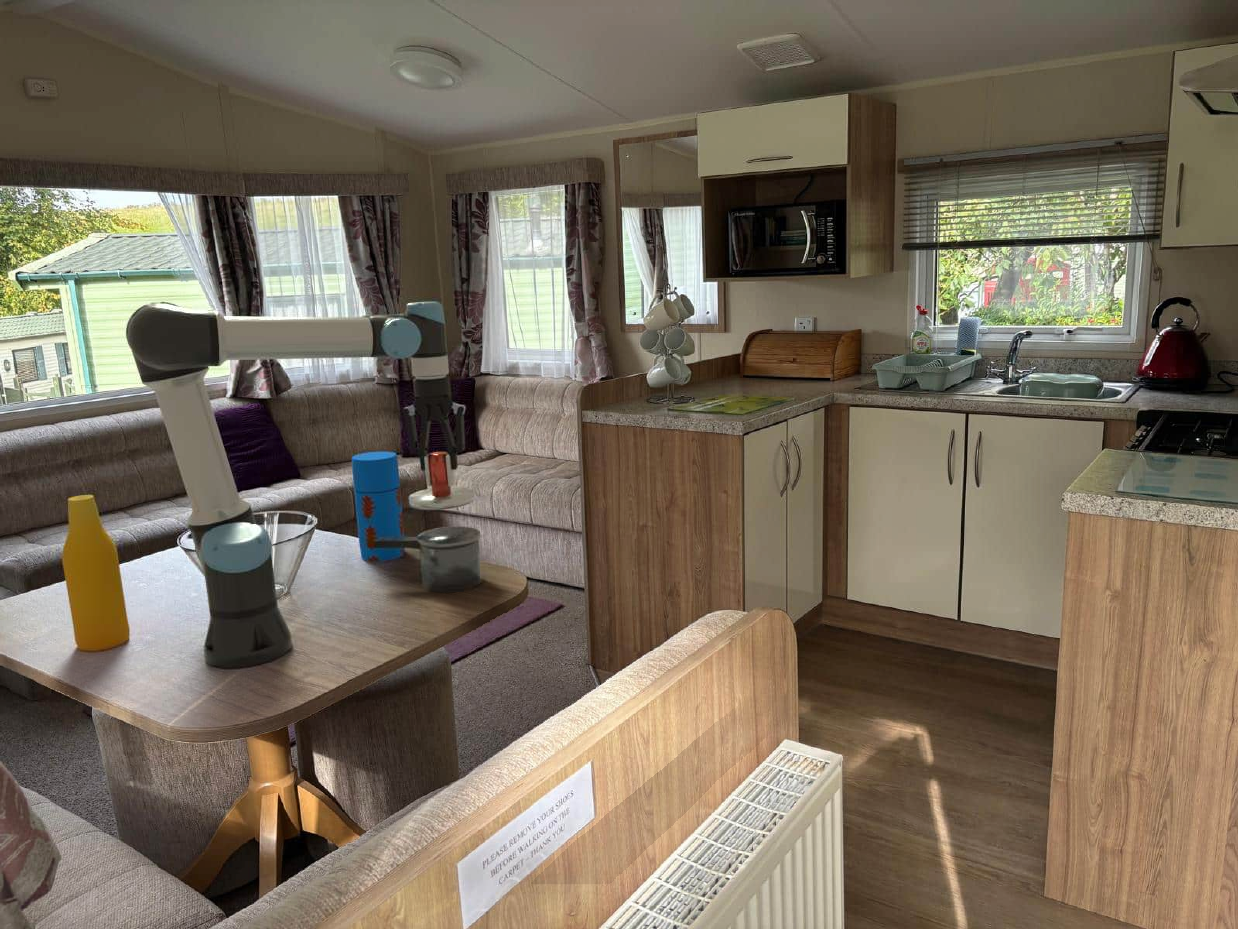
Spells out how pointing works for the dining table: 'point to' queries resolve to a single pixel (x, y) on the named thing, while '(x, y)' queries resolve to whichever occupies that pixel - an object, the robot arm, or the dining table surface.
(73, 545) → the beer bottle
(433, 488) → the lid
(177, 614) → the dining table surface
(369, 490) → the thermos
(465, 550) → the pot
